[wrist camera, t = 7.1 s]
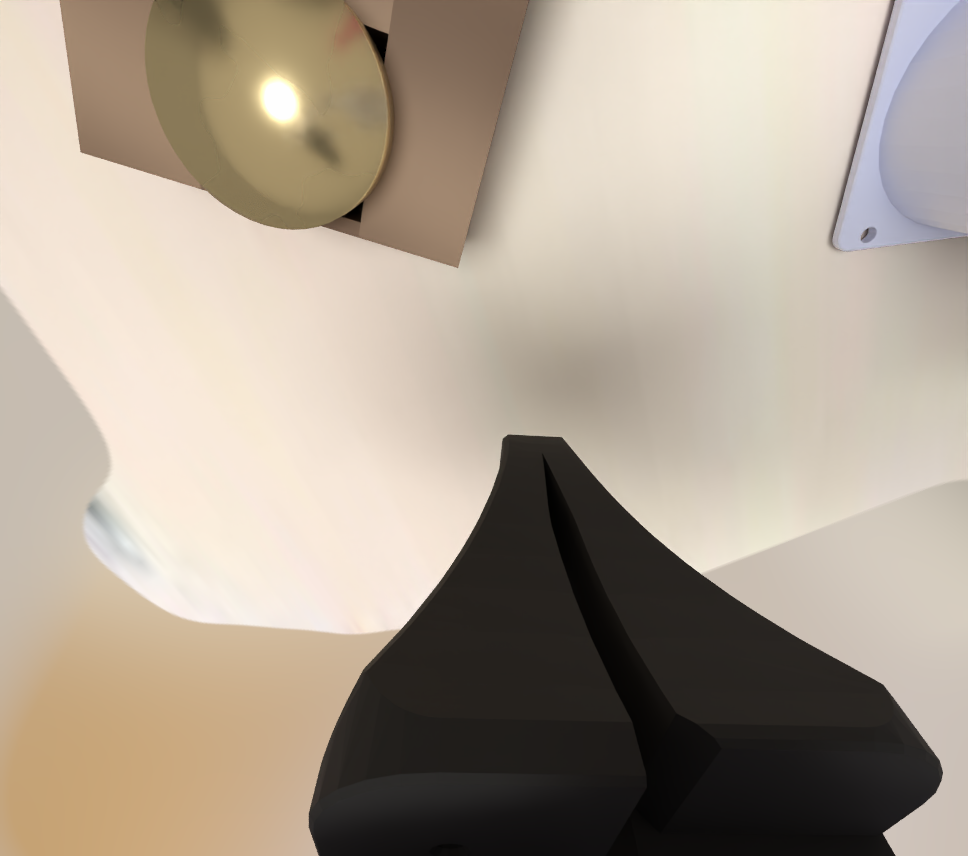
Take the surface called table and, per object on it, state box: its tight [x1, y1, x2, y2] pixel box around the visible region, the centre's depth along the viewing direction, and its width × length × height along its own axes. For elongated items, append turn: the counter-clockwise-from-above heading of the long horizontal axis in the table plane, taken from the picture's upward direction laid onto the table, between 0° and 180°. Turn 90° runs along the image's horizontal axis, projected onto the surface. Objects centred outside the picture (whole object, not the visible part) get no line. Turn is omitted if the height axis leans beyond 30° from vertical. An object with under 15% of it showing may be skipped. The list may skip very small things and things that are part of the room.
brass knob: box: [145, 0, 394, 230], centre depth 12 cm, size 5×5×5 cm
